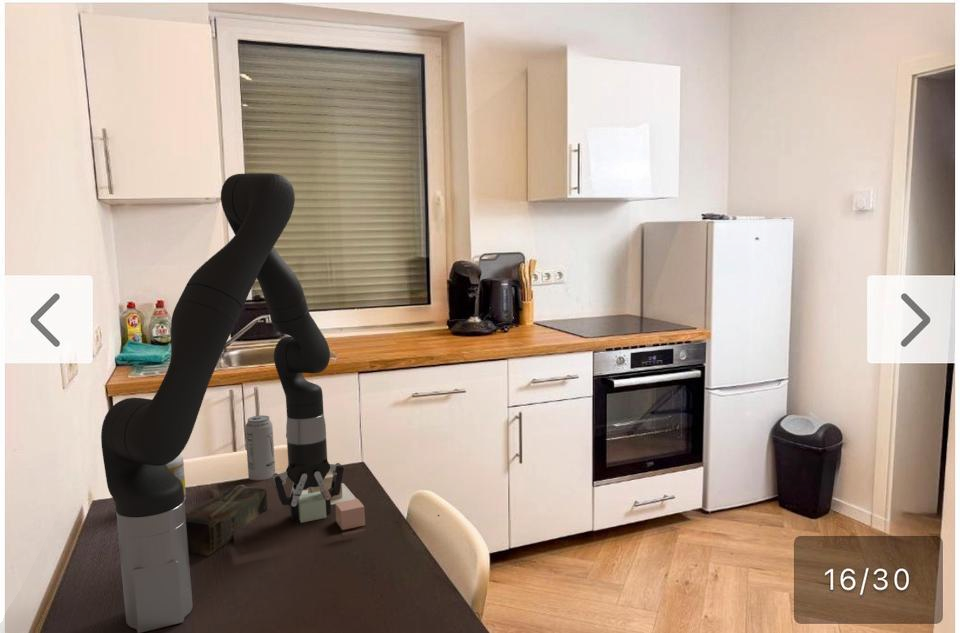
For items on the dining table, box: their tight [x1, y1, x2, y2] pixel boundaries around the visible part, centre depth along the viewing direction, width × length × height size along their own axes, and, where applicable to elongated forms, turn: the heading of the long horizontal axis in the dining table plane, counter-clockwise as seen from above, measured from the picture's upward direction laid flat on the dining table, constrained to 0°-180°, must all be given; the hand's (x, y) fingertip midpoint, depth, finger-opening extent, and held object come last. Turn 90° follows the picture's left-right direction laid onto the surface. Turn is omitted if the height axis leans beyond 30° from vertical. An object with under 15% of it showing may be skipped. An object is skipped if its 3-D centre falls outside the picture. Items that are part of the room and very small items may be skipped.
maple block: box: [307, 470, 342, 500], centre depth 147 cm, size 6×6×5 cm
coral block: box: [334, 498, 366, 537], centre depth 133 cm, size 4×4×5 cm
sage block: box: [297, 491, 327, 524], centre depth 137 cm, size 5×5×5 cm
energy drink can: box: [245, 415, 276, 481], centre depth 160 cm, size 6×6×15 cm
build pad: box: [301, 483, 357, 505], centre depth 147 cm, size 11×11×1 cm
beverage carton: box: [185, 484, 268, 557], centre depth 132 cm, size 8×19×7 cm, turn 164°
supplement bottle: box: [166, 454, 187, 501], centre depth 148 cm, size 7×7×13 cm
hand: (311, 519), depth 137 cm, fingers open, 5 cm apart
